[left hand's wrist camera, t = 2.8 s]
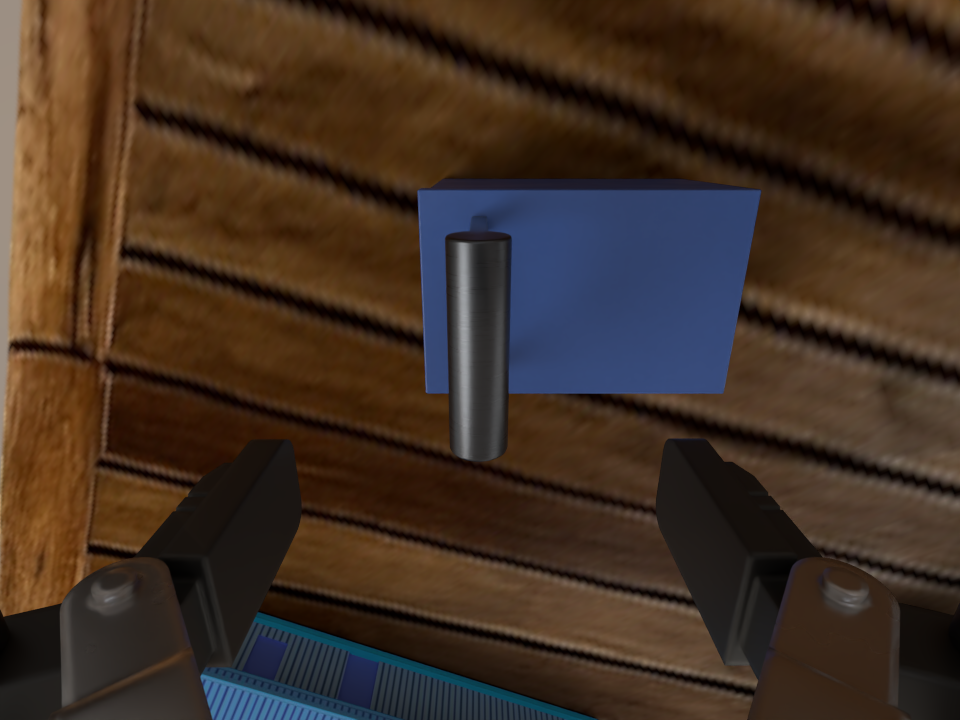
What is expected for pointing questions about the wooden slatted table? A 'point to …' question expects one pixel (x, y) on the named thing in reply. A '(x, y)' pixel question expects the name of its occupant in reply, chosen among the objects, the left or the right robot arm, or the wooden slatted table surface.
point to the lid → (576, 295)
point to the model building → (350, 683)
